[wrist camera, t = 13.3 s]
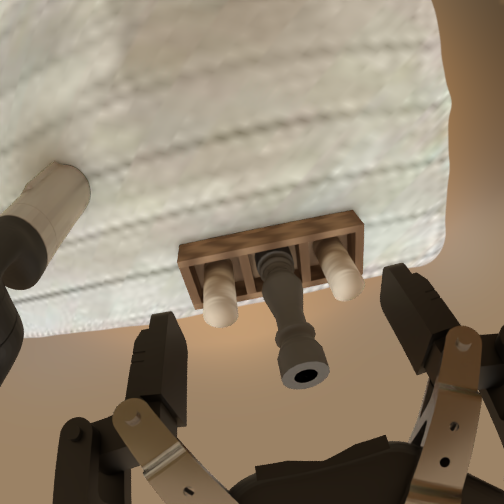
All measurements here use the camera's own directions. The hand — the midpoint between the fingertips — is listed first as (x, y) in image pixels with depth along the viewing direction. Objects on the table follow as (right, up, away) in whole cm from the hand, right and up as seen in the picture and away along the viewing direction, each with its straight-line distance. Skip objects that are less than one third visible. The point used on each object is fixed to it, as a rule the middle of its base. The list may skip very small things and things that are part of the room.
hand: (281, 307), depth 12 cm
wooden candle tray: (+2, +2, +45) cm, 45 cm away
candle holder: (+2, +2, +44) cm, 44 cm away
